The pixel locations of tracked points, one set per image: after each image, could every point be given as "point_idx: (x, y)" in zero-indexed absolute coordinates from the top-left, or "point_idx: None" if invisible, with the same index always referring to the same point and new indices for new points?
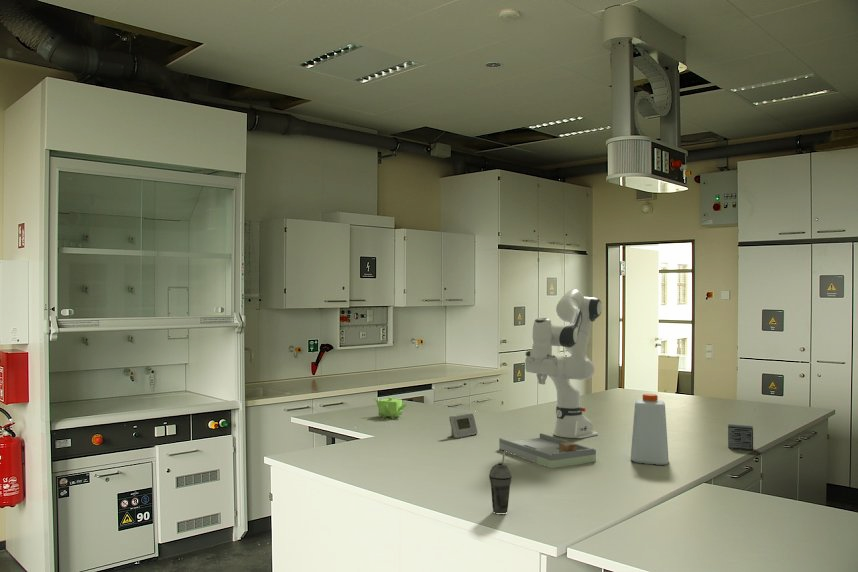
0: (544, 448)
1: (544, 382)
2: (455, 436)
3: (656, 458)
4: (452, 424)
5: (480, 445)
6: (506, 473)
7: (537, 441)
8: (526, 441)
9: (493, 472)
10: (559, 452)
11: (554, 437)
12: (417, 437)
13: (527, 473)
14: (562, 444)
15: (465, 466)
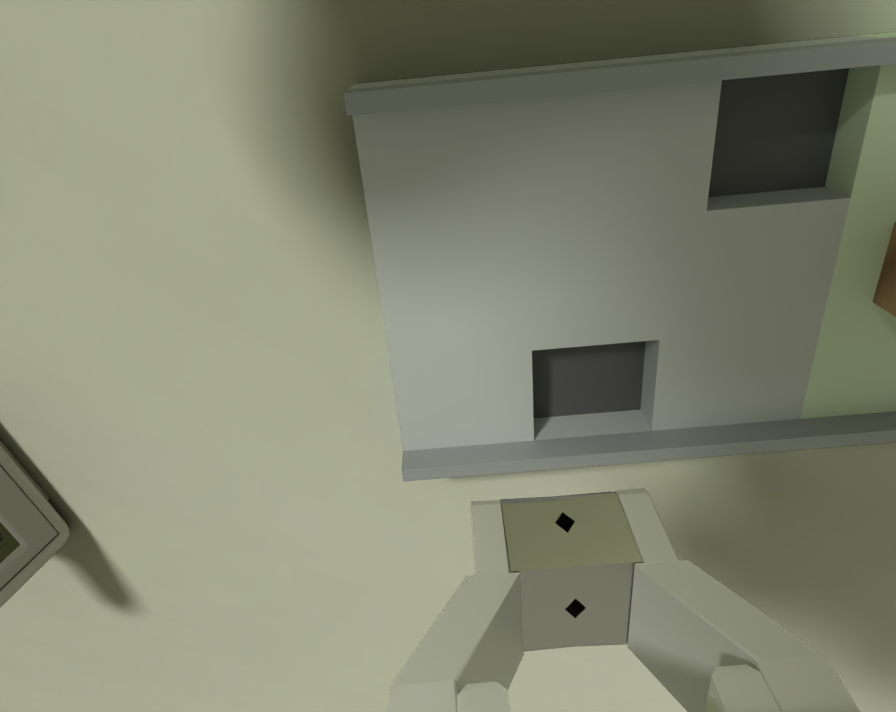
0: (678, 290)
1: (654, 535)
2: (66, 539)
3: None
4: (2, 604)
5: (275, 480)
6: None
7: (466, 209)
8: (434, 289)
9: None
10: (886, 309)
11: (544, 79)
12: (21, 657)
13: (879, 529)
14: None
15: (629, 669)
